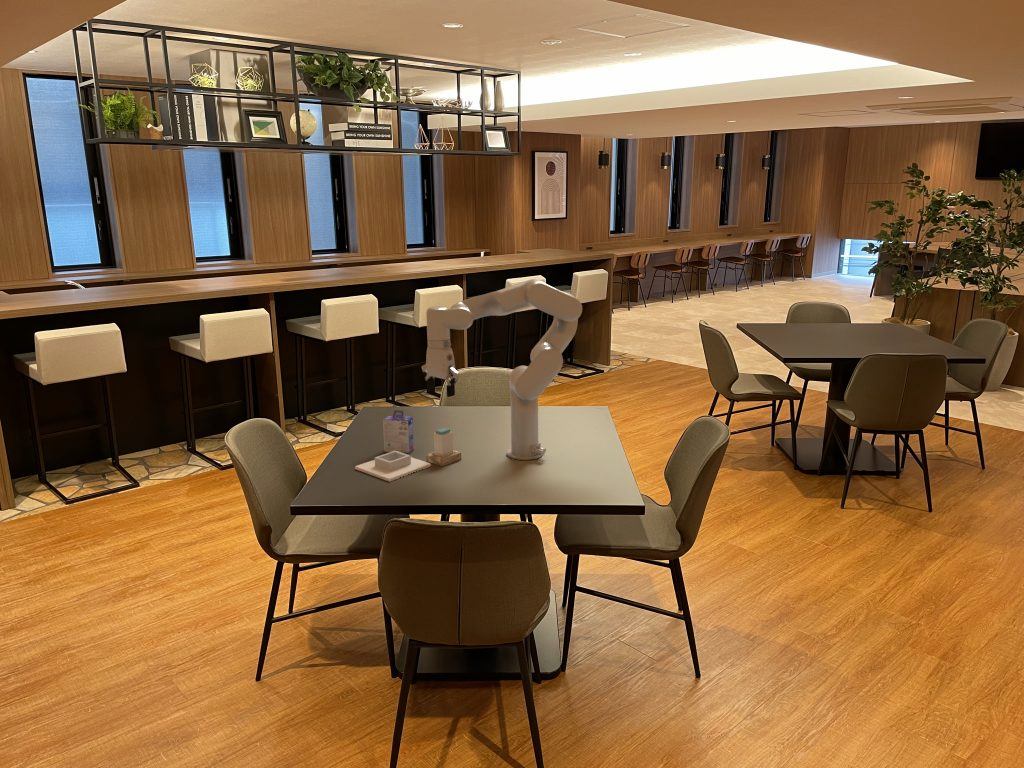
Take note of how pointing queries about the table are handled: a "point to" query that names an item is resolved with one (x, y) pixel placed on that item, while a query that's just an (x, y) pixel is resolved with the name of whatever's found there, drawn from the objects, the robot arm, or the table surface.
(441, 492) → the table surface
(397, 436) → the ink cartridge box
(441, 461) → the brown rectangular frame
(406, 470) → the port board
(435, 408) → the table surface
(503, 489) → the table surface
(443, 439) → the plug
